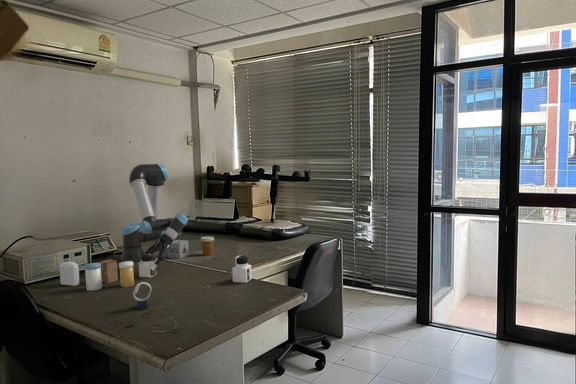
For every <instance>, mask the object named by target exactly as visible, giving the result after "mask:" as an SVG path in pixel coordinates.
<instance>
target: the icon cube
mask: <svg viewBox="0 0 576 384" xmlns="http://www.w3.org/2000/svg"><path fill="white" fill-rule="evenodd" d="M189 249H190V248H189V240H183V239H182V240H181V239H174V240H173V242H172V244H171V245H170V248H169V250H168V252H167V258H168V259H169V258H170V259H172V258H173V259H182V258H184V257H185V258H186V257H187V256H190V251H189Z"/></svg>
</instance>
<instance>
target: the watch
mask: <svg viewBox="0 0 576 384" xmlns="http://www.w3.org/2000/svg"><path fill="white" fill-rule="evenodd" d="M142 285H146V286H147V287H148V288H149V292H148V294H147V295H146V297H145V298H138V297H137V296H136V295H137V293H138V291H139V290H140V288H141V286H142ZM151 293H152V286H151V284H150V283H148V282H145V281H140V282H139V283H136V285H135V287H134V289H133V292H132V293H131V294H132V296H133V298H134V299H135V301H137V302H136V304H137V305H136V306H137V308H136V309H137V311H138V310H139V311H141V310H147V309H149V306H150V304H149V301H150V300H149V299H150V297H151Z"/></svg>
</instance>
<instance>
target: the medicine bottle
mask: <svg viewBox="0 0 576 384" xmlns="http://www.w3.org/2000/svg"><path fill="white" fill-rule="evenodd" d="M153 262H154V255H153V254H152V255H151V254H146V255H143V256H142V264H140V265H139V264H138V274H139V275H138V276H139V278H153V277H154V276H156V275H157V274H158V269H157V268H158V267H157V266H158V265H157V266H156V268H155V269H154V270H152V269H150V268H149V267H150V266H151V265H152V263H153Z"/></svg>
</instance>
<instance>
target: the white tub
mask: <svg viewBox="0 0 576 384" xmlns="http://www.w3.org/2000/svg"><path fill="white" fill-rule="evenodd" d="M83 267H84V271H85V273H84V275H85V285H86V291H88V292H90V291H98V290H100V289H102V288H103V284H102V283H103V282H102V281H101V263H100V262H91V263H87V264H86V263H85V265H84V266H83Z"/></svg>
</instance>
